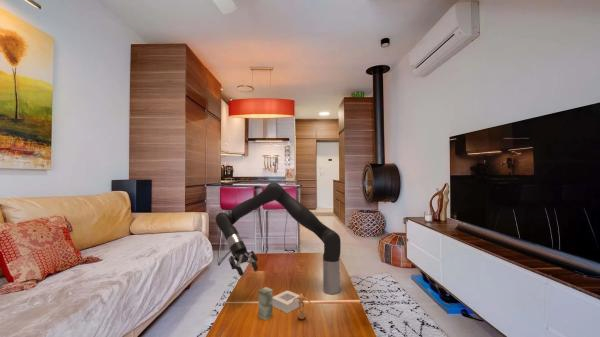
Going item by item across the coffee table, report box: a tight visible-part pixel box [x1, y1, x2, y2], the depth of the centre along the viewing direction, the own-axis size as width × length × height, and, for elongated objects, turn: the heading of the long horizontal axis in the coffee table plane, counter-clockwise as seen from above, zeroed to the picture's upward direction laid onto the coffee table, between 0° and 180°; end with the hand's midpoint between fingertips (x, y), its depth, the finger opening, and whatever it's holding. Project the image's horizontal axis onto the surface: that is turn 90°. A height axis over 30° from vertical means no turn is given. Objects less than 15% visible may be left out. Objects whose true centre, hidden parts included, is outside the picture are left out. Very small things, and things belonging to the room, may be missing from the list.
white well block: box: [273, 290, 303, 314], centre depth 128 cm, size 11×11×4 cm
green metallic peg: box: [258, 286, 274, 321], centre depth 118 cm, size 4×4×12 cm
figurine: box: [292, 292, 312, 320], centre depth 115 cm, size 8×6×12 cm
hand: (249, 272), depth 126 cm, fingers open, 8 cm apart
